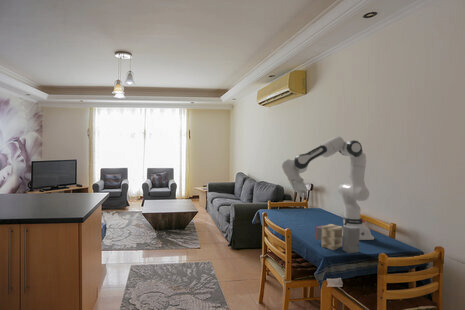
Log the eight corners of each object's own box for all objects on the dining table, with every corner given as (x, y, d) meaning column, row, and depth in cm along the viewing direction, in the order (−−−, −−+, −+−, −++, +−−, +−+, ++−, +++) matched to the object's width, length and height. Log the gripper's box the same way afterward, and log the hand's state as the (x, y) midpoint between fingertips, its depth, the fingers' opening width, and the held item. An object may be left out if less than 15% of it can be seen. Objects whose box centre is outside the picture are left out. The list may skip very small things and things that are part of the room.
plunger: (315, 239, 207) (316, 227, 207) (322, 236, 213) (322, 225, 213) (323, 241, 203) (324, 229, 203) (330, 239, 209) (330, 227, 208)
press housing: (321, 246, 203) (321, 226, 202) (329, 243, 210) (330, 223, 210) (333, 250, 196) (334, 229, 196) (341, 246, 204) (342, 226, 203)
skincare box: (348, 253, 191) (348, 228, 190) (341, 249, 198) (342, 225, 197) (359, 252, 193) (360, 228, 192) (352, 248, 200) (353, 225, 199)
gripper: (294, 176, 211) (303, 194, 206) (303, 178, 228) (312, 195, 223) (286, 181, 213) (296, 199, 208) (296, 183, 231) (305, 199, 225)
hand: (304, 197), depth 216 cm, fingers open, 8 cm apart
